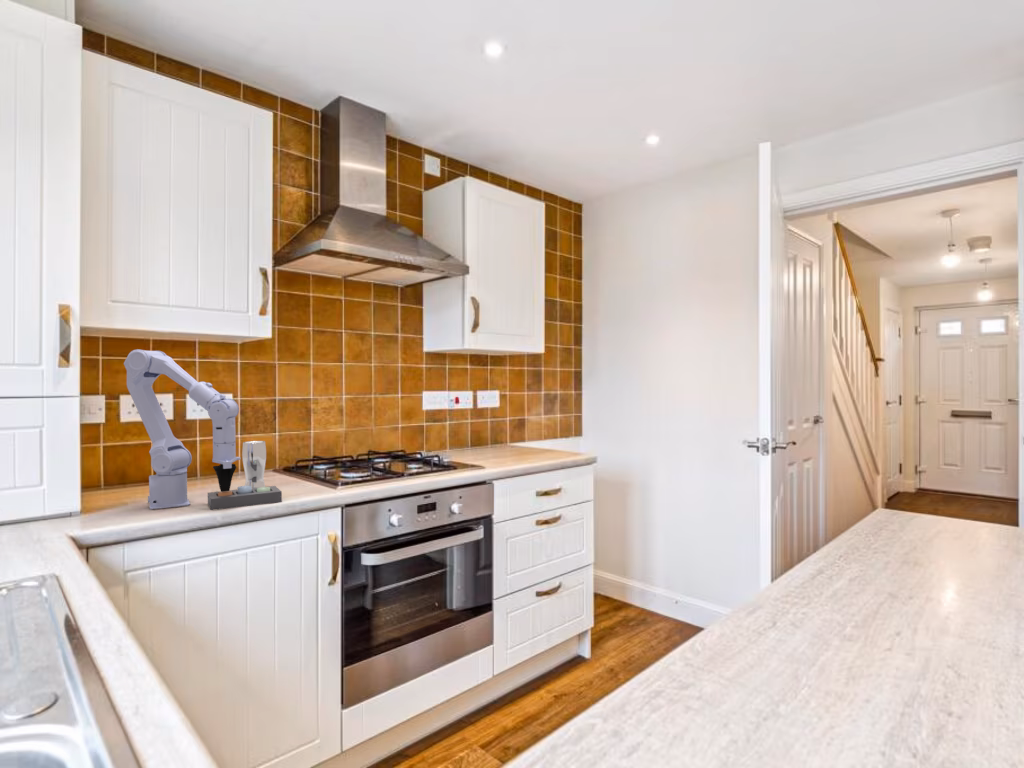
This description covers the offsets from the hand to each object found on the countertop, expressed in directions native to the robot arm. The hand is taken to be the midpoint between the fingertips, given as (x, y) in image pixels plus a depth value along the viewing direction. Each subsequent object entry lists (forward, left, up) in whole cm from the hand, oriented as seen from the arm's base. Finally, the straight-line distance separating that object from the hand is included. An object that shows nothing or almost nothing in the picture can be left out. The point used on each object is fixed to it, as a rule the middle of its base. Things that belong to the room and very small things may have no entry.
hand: (224, 491), depth 163 cm
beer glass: (+11, +20, -4) cm, 23 cm away
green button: (+10, 0, -3) cm, 11 cm away
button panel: (+5, 0, -4) cm, 6 cm away
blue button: (+5, 0, -2) cm, 6 cm away
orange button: (0, 0, -3) cm, 3 cm away
